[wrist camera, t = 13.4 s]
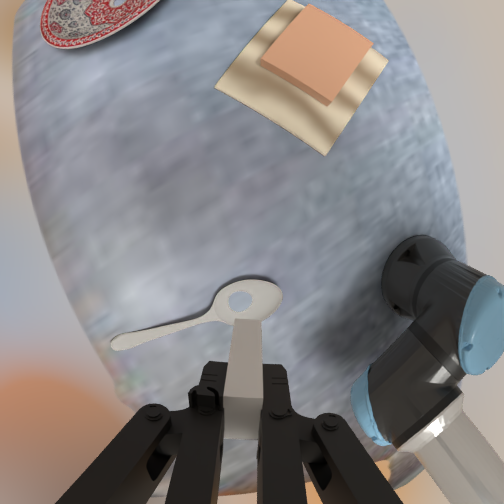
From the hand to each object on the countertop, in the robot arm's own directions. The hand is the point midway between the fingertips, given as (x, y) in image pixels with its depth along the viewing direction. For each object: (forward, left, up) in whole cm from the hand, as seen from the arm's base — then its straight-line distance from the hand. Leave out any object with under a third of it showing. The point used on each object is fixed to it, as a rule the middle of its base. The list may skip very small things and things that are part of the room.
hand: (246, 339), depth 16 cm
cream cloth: (-7, -28, -29) cm, 41 cm away
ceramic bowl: (+28, -46, -30) cm, 62 cm away
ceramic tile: (-5, -24, -27) cm, 37 cm away
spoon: (+11, +15, -30) cm, 35 cm away
